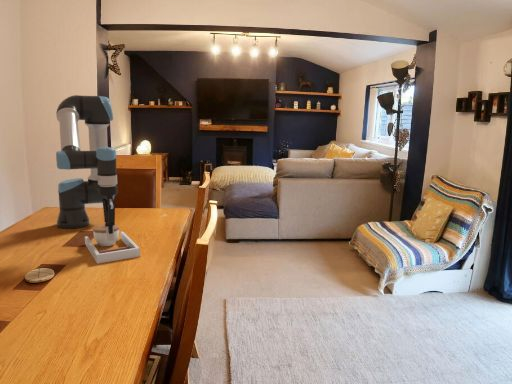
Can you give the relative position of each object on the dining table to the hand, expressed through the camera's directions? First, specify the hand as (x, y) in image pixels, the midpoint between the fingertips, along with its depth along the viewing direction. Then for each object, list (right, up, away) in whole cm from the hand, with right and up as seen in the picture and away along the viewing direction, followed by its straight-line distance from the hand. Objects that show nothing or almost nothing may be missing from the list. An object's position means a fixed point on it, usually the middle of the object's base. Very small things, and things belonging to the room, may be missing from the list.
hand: (110, 240), depth 165 cm
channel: (0, -4, 0) cm, 4 cm away
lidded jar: (-4, -3, +7) cm, 8 cm away
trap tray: (+4, -5, -6) cm, 9 cm away
